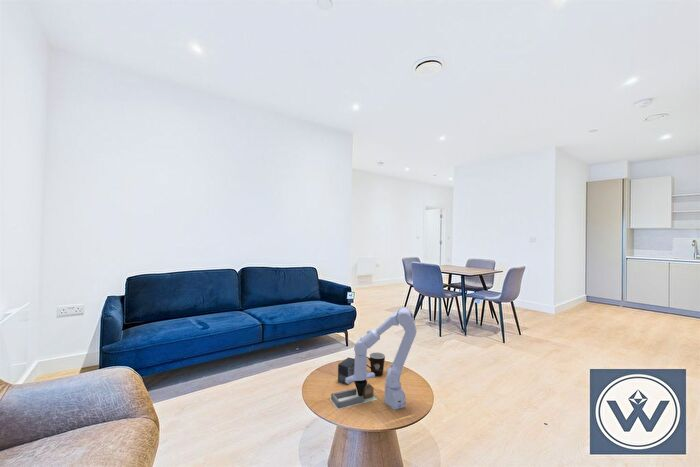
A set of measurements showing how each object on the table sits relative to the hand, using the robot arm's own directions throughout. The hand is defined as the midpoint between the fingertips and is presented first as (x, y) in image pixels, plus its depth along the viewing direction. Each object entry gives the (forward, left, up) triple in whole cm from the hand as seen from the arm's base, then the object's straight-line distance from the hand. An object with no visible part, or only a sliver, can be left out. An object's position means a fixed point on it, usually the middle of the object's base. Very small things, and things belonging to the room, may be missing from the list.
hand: (359, 395), depth 140 cm
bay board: (0, +3, -2) cm, 3 cm away
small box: (+18, -2, -2) cm, 18 cm away
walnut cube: (0, -4, -1) cm, 4 cm away
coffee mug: (+21, -20, -2) cm, 29 cm away
